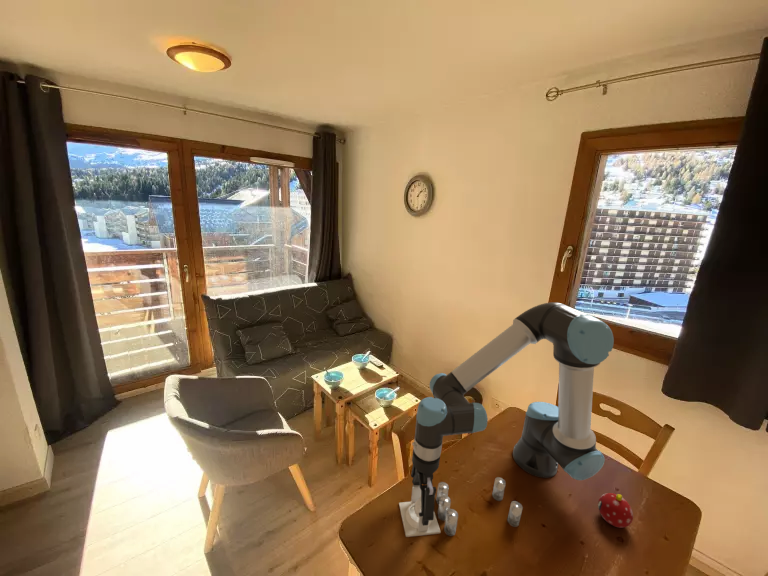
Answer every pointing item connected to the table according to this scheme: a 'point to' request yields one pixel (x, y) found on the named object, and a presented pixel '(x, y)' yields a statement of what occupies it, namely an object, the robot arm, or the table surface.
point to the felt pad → (411, 530)
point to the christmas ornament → (615, 510)
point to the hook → (417, 511)
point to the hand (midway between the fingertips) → (418, 515)
